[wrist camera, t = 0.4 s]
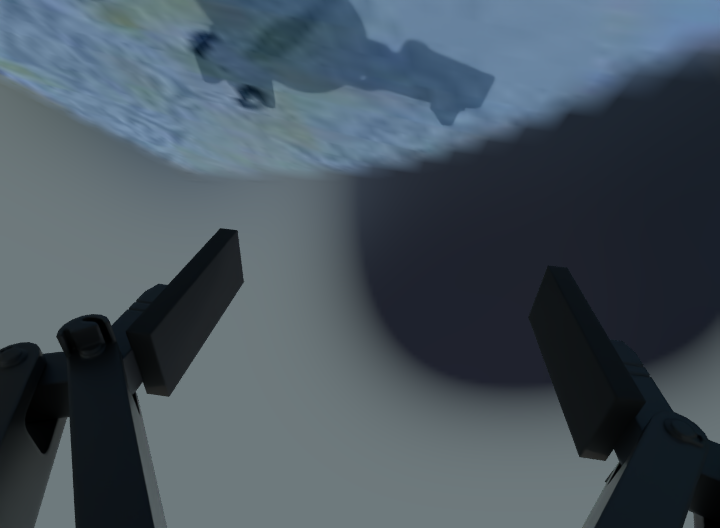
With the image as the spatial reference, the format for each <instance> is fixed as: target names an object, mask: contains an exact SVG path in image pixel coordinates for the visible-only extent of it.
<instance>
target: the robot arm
mask: <svg viewBox="0 0 720 528" xmlns="http://www.w3.org/2000/svg"><path fill="white" fill-rule="evenodd" d="M243 282H244V280H243V272H242V264H241V256H240V247H239V239H238V231H237V230H230V229H221V228H220V229H219V230H218V231H217V233H216V234H215V235H214V236H213V237H212V238H211V239H210V240H209V241H208V242H207V243H206V244H205V246H204V247H203V248H202V249H201V250H200V251H199V252H198V253H197V254H196V255H195V256H194V257H193V259H192V260H191V261H190V262H189V263H188V264H187V265H186V266H185V267H184V268H183V269H182V270H181V272H180V273H179V274H178V275H177V276H176V277H175V278H174V279H173V280H172V281H171V282H170V283H169V284H168V285H163V284H157V285H156V286H154V287H153V288H150V289H149V290H147V291H145V292H144V293H143V294H142V295H141V296H140V297H139V298H138V299H137V300H136V302H135V303H133V304H132V306H130V308H129V310H127V311H125V312H124V314H123V315H121V317H120V318H119V319H118V320H117V321H116V322H115V323H114V324H113V325H112V326H111V324H110V321H109V320H108V318H107V317H105V316H103V315H96V314H91V315H85V316H81V317H78V318H75V319H73V320H71V321H69V322H68V323H66V324H64V326H62V328H61V329H60V330H59V331H58V333H57V336H56V337H57V339H58V341H59V343H60V345H61V347H62V349H63V351H64V352H56V353H47V354H42V352H41V350H40V348H39V347H38V346H37V345H36V344H34V343H30V342H27V343H18V344H13V345H9V346H7V347H5V348H3V349H1V350H0V528H34V526H35V523H36V519H37V516H38V512H39V509H40V506H41V502H42V499H43V496H44V493H45V489H46V486H47V482H48V479H49V475H50V472H51V469H52V466H53V463H54V459H55V456H56V453H57V449H58V446H59V442H60V439H61V436H62V433H63V429H64V426H65V423H66V419H67V417H70V433H71V451H72V469H73V488H74V506H75V523H76V528H167V525H166V521H165V516H164V512H163V507H162V503H161V498H160V494H159V490H158V485H157V481H156V476H155V472H154V467H153V463H152V459H151V454H150V449H149V445H148V441H147V437H146V432H145V427H144V423H143V418H142V414H141V409H140V405H139V400H138V396H137V394H136V390H137V389H138V387H139V386H140V385H141V383H142V382H143V383H144V386H145V389H146V392H147V394H154V395H161V396H168V397H169V396H170V395H171V393H172V392H173V390H174V389H175V387H176V385H177V384H178V382H179V381H180V379H181V378H182V376H183V374H184V373H185V372H186V370H187V369H188V367H189V365H190V364H191V362H192V361H193V359H194V358H195V356H196V355H197V353H198V352H199V350H200V349H201V347H202V346H203V344H204V342H205V341H206V339H207V338H208V336H209V335H210V333H211V332H212V330H213V329H214V327H215V326H216V324H217V322H218V321H219V319H220V318H221V316H222V315H223V313H224V312H225V310H226V309H227V307H228V306H229V304H230V303H231V301H232V299H233V298H234V296H235V295H236V293H237V292H238V290H239V289H240V287H241V286H242V284H243ZM529 320H530V323H531V326H532V328H533V331H534V334H535V337H536V339H537V342H538V345H539V348H540V350H541V353H542V356H543V359H544V361H545V364H546V367H547V369H548V372H549V375H550V378H551V380H552V383H553V386H554V389H555V391H556V394H557V397H558V400H559V402H560V405H561V408H562V410H563V413H564V416H565V419H566V421H567V424H568V426H569V430H570V432H571V435H572V437H573V440H574V443H575V446H576V449H577V451H578V454H579V457H583V458H590V459H597V460H604V461H606V459H607V458H608V456H609V455H610V453H611V452H612V451H613V449H614V450H615V453H616V455H617V457H618V459H619V463H618V464H617V466H616V467H615V469H614V470H613V471H612V473H611V474H610V475H609V477H608V478H607V479H606V481H605V482H606V485H605V487H604V489H603V490H602V492H601V494H600V496H599V498H598V500H597V502H596V503H595V505H594V507H593V509H592V510H591V512H590V514H589V516H588V518H587V520H586V522H585V523H584V525H583V527H582V528H683V525H684V521H685V518H686V515H687V513H688V510H689V511H691V512H693V513H694V528H720V444H718V443H715V442H713V441H710V440H708V438H707V436H706V435H705V433H704V432H703V431H702V430H701V429H700V428H699V427H698V426H697V425H696V424H695V423H693V422H692V421H690V420H689V419H688V418H686V417H684V416H682V415H679V414H677V413H675V412H673V410H672V409H671V407H670V406H669V404H668V403H667V401H666V400H665V398H664V397H663V395H662V393H661V392H660V390H659V389H658V387H657V386H656V384H655V382H654V381H653V379H652V378H651V377H649V373H648V372H647V370H646V369H645V367H643V364H642V362H641V361H640V359H639V358H638V356H637V354H636V353H635V352H634V351H633V350H632V349H630V348H629V347H628V346H627V345H626V344H625V343H624V342H623V341H617V340H610V339H609V338H608V336H607V334H606V333H605V331H604V329H603V328H602V326H601V324H600V322H599V321H598V319H597V317H596V316H595V314H594V312H593V311H592V309H591V307H590V306H589V304H588V302H587V300H586V299H585V297H584V295H583V294H582V292H581V290H580V289H579V287H578V285H577V284H576V282H575V280H574V278H573V277H572V275H571V273H570V272H569V270H568V268H564V267H556V266H548V267H547V269H546V272H545V275H544V277H543V280H542V283H541V285H540V288H539V291H538V293H537V296H536V298H535V301H534V304H533V306H532V309H531V312H530V314H529Z"/></svg>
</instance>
